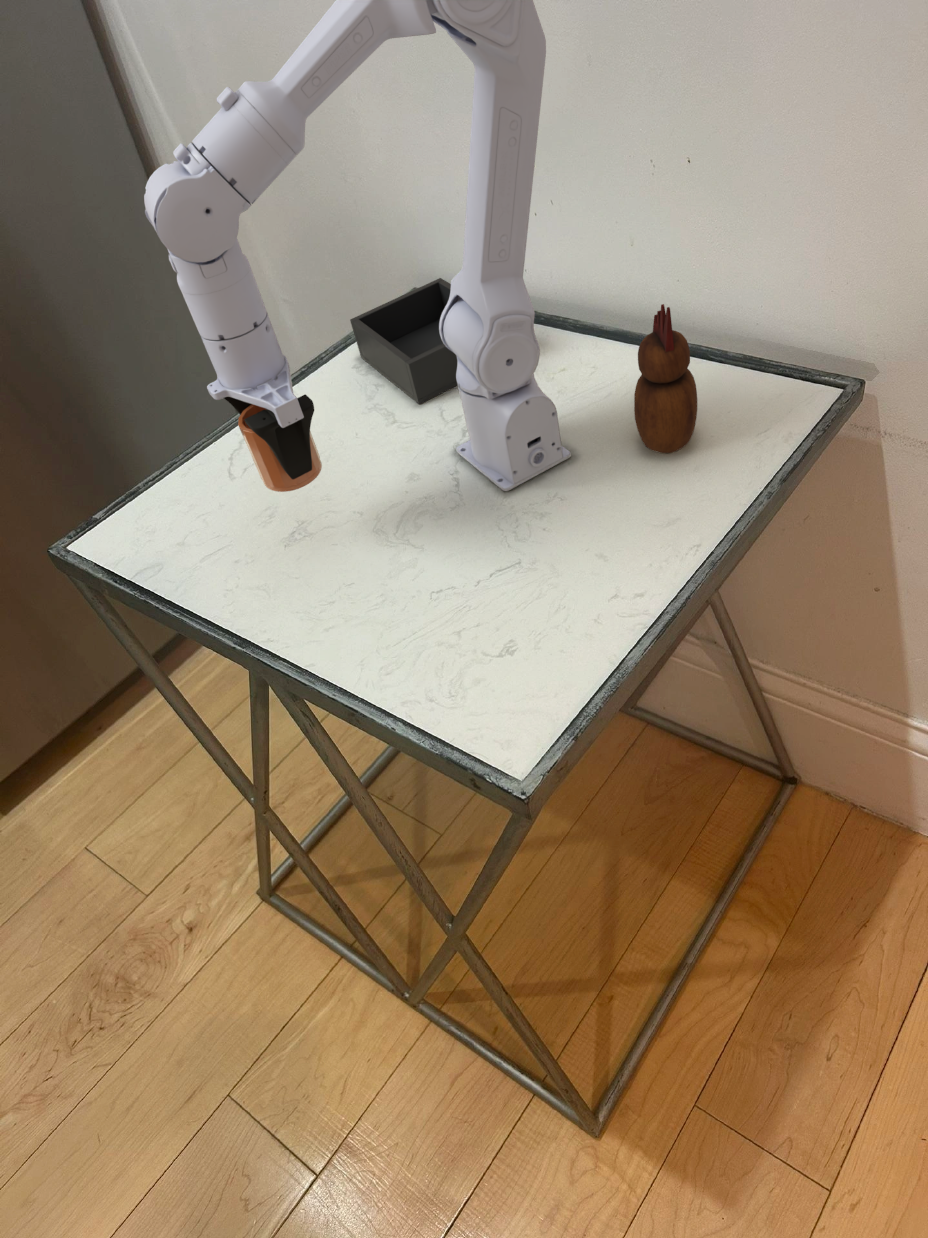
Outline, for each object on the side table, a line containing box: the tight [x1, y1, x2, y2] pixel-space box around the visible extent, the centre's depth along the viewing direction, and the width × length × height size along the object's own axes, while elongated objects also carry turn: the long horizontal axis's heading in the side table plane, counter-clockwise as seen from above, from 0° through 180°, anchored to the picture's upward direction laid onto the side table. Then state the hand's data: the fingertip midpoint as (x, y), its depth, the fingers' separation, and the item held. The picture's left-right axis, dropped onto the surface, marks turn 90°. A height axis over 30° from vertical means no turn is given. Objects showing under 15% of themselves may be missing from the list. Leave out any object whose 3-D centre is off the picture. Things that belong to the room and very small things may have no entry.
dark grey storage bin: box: [349, 277, 458, 405], centre depth 109 cm, size 15×13×5 cm
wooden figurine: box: [633, 303, 698, 454], centre depth 86 cm, size 7×6×15 cm
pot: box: [237, 404, 323, 493], centre depth 84 cm, size 6×6×6 cm
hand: (287, 458), depth 86 cm, fingers closed on pot, 5 cm apart
